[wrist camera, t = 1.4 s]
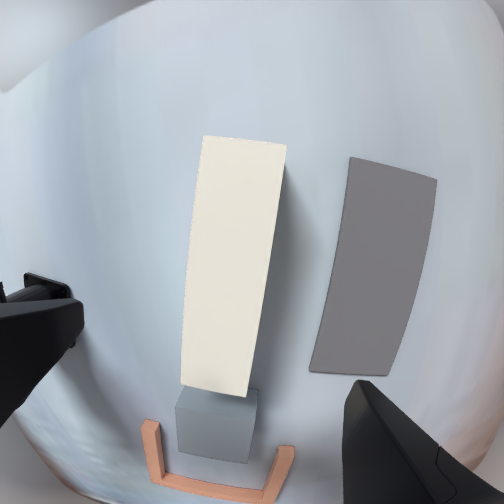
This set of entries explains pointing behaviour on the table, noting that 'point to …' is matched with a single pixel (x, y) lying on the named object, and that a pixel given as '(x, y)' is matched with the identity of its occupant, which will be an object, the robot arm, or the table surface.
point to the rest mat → (374, 268)
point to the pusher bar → (229, 260)
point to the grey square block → (216, 424)
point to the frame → (258, 498)
